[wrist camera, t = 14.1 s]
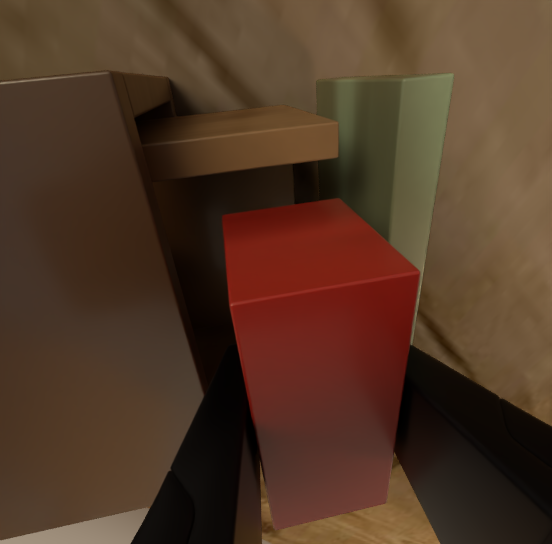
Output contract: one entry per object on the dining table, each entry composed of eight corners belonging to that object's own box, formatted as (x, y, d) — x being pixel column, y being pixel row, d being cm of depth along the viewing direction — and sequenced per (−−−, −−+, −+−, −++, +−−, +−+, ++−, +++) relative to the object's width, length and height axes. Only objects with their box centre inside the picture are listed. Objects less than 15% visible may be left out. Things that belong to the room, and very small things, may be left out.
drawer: (375, 73, 13) (507, 66, 7) (362, 308, 19) (431, 410, 13) (31, 110, 12) (-144, 137, 6) (131, 350, 18) (91, 483, 12)
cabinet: (168, 76, 13) (110, 69, 5) (223, 331, 19) (231, 488, 12) (-205, 114, 11) (-952, 173, 4) (-13, 373, 18) (-170, 579, 10)
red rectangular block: (221, 214, 8) (228, 304, 5) (340, 196, 8) (422, 271, 5) (256, 404, 11) (274, 532, 8) (338, 388, 11) (386, 504, 8)
